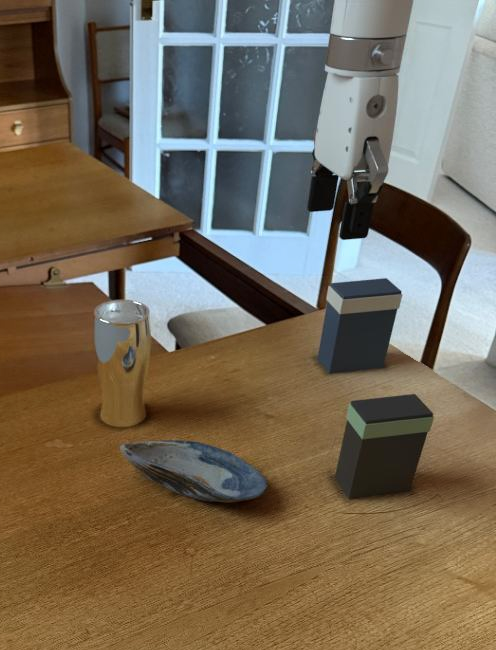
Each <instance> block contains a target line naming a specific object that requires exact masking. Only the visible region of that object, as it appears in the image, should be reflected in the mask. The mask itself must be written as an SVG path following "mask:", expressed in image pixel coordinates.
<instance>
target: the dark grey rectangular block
mask: <svg viewBox="0 0 496 650" xmlns="http://www.w3.org/2000/svg"><path fill="white" fill-rule="evenodd" d="M434 418H435V417H434V412H433V411H432V410H431V409H430V408H429V407H428V406H427V405H426V403H425V402H423V401H422V400H421V399H420V398H419V396H418V395H417V394H416V393H410V394H401V395H391V396H384V397H382V396H381V397H374V398H373V397H372V398H365V399H364V398H363V399H355V400H350V403H348V406H347V409H346V416H345V419H346V423H345V427H344V428H345V429H344V432H343V436H342V442H341V447H340V451H339V456H338V460H337V465H336V470H335V474H334V479H335V481H336V482H337V484H338V485H339V487H340V488H341V489H342V491H343V493H344V494H345V496H346V497H347V500H352V499H360V498H369V497H377V496H384V495H385V496H386V495H393V494H402V493H409V492H411V489H412V486H413V484H414V483H413V482H414V479H415V476H416V473H417V469H418V466H419V463H420V460H421V456H422V452H423V449H424V446H425V442H426V441H427V440H426V439H427V436H428V433H429V432H431V429H432V426H433V422H434Z"/></svg>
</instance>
